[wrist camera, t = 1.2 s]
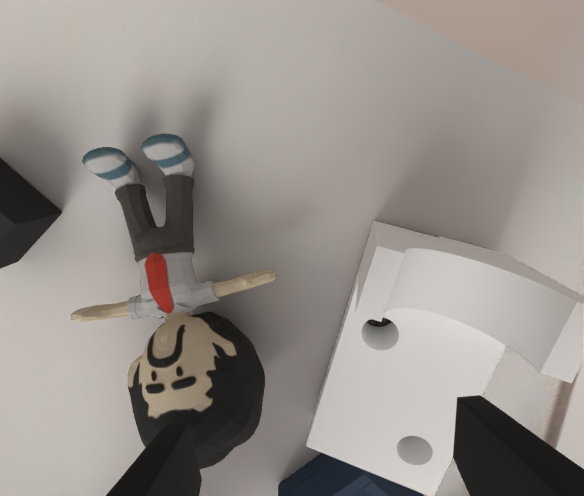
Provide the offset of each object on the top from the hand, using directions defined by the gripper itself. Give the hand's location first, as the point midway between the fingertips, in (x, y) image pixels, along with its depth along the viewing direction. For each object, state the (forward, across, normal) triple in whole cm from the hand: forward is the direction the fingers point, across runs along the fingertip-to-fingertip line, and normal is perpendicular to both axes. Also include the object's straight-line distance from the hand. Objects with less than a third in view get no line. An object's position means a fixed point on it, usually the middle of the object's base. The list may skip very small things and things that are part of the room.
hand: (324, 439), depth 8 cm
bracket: (+10, -5, +3) cm, 11 cm away
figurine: (+10, +6, -1) cm, 12 cm away
